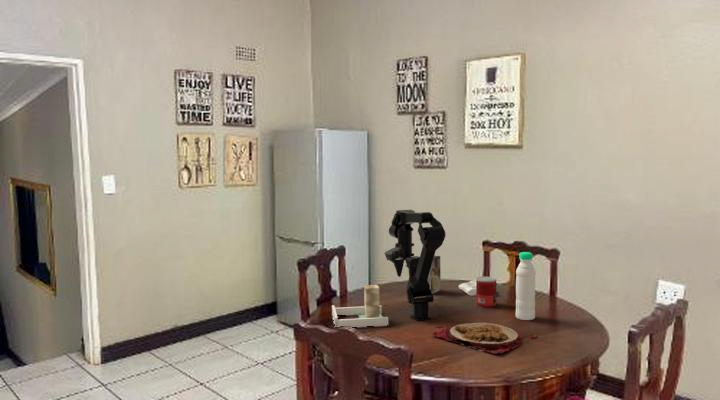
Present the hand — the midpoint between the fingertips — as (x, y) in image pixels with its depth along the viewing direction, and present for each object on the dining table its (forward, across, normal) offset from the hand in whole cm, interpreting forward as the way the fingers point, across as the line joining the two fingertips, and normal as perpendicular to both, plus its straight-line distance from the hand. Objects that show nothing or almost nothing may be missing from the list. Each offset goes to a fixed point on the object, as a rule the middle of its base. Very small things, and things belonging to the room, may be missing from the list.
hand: (405, 278), depth 216 cm
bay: (+12, +5, -24) cm, 27 cm away
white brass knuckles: (+13, -5, +42) cm, 44 cm away
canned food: (+12, +13, +31) cm, 36 cm away
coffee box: (+12, -16, +23) cm, 31 cm away
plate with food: (+13, +42, +5) cm, 44 cm away
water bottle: (+12, +34, +32) cm, 48 cm away
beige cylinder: (+12, +7, -19) cm, 23 cm away
